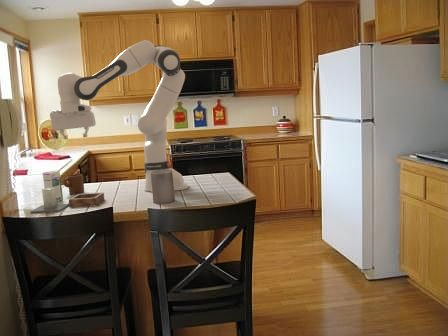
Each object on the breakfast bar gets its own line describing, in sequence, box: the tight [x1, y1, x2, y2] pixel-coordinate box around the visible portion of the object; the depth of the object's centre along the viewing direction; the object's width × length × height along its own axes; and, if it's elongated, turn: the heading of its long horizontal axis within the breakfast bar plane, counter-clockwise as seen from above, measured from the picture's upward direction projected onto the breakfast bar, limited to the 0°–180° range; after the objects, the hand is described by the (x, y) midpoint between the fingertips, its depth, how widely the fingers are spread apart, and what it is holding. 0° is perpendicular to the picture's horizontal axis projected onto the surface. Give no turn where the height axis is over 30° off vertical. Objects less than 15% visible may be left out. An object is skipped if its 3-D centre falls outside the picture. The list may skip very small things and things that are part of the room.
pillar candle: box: [151, 169, 176, 205], centre depth 220 cm, size 10×10×15 cm
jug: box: [41, 188, 58, 209], centre depth 220 cm, size 7×5×8 cm
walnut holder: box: [68, 192, 105, 208], centre depth 228 cm, size 12×12×4 cm
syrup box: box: [42, 170, 64, 202], centre depth 239 cm, size 6×6×14 cm
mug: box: [62, 173, 85, 195], centre depth 255 cm, size 12×8×9 cm, turn 153°
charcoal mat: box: [29, 203, 70, 214], centre depth 221 cm, size 13×12×1 cm
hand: (75, 138), depth 233 cm, fingers open, 8 cm apart
